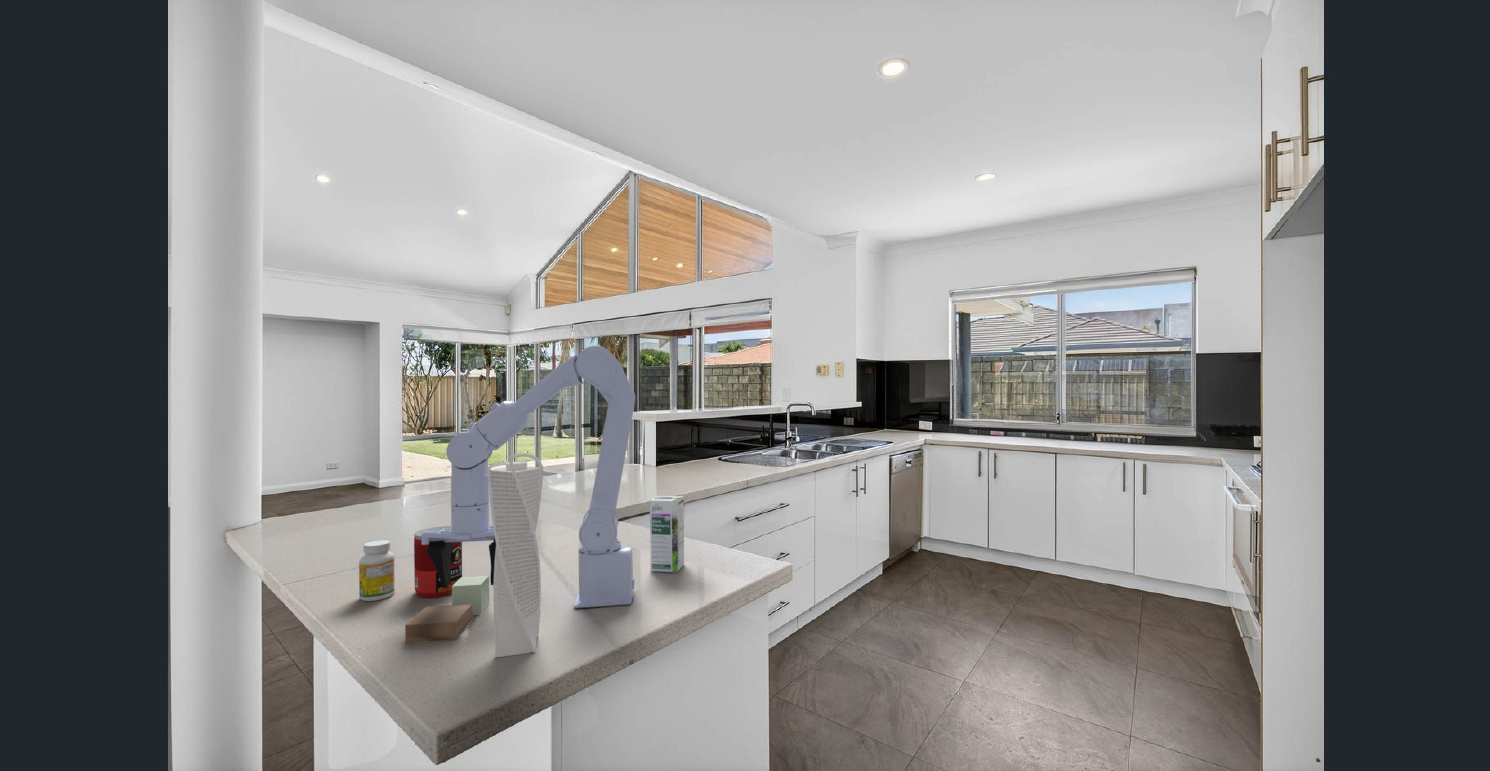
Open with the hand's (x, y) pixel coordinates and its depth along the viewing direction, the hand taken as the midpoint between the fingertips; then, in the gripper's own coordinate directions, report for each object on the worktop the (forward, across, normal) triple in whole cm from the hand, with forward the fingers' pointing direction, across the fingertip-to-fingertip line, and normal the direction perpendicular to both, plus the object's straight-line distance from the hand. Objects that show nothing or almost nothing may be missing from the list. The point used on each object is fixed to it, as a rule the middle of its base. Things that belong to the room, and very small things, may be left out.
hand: (470, 584), depth 95 cm
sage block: (+4, 0, 0) cm, 4 cm away
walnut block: (+5, -2, -8) cm, 9 cm away
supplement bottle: (+5, -19, +10) cm, 22 cm away
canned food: (+4, -9, +11) cm, 15 cm away
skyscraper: (+4, +11, -16) cm, 20 cm away
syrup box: (+4, +33, +16) cm, 37 cm away
